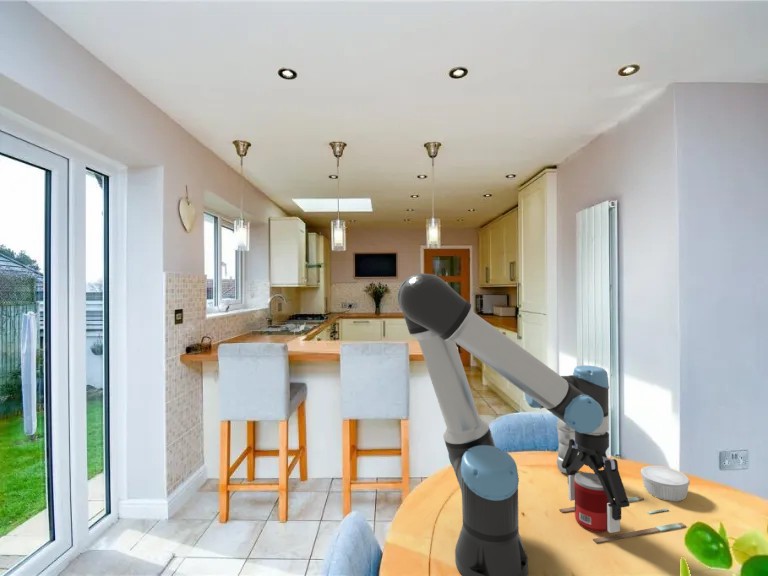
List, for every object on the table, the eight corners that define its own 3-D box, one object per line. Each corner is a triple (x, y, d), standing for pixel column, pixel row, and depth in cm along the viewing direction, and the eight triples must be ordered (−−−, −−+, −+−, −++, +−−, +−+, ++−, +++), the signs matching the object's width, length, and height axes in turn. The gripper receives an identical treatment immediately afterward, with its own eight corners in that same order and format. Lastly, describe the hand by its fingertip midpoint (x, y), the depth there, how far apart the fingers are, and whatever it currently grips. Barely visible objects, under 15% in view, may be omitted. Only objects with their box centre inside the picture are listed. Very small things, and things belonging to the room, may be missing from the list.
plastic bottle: (553, 472, 125) (552, 409, 124) (562, 464, 129) (561, 404, 129) (574, 479, 120) (573, 413, 119) (583, 471, 124) (582, 408, 124)
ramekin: (644, 498, 109) (644, 479, 109) (638, 479, 119) (638, 462, 119) (694, 508, 104) (694, 488, 104) (684, 487, 114) (683, 469, 114)
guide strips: (596, 543, 91) (596, 542, 91) (559, 510, 104) (559, 508, 104) (693, 525, 97) (692, 524, 97) (645, 496, 110) (645, 494, 110)
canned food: (616, 534, 94) (615, 488, 94) (579, 531, 96) (579, 486, 96) (604, 515, 102) (604, 473, 101) (571, 512, 103) (570, 470, 103)
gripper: (647, 448, 87) (648, 544, 87) (571, 411, 111) (572, 486, 112) (617, 452, 85) (619, 549, 86) (547, 414, 110) (548, 490, 110)
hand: (592, 514), depth 99 cm, fingers open, 13 cm apart
